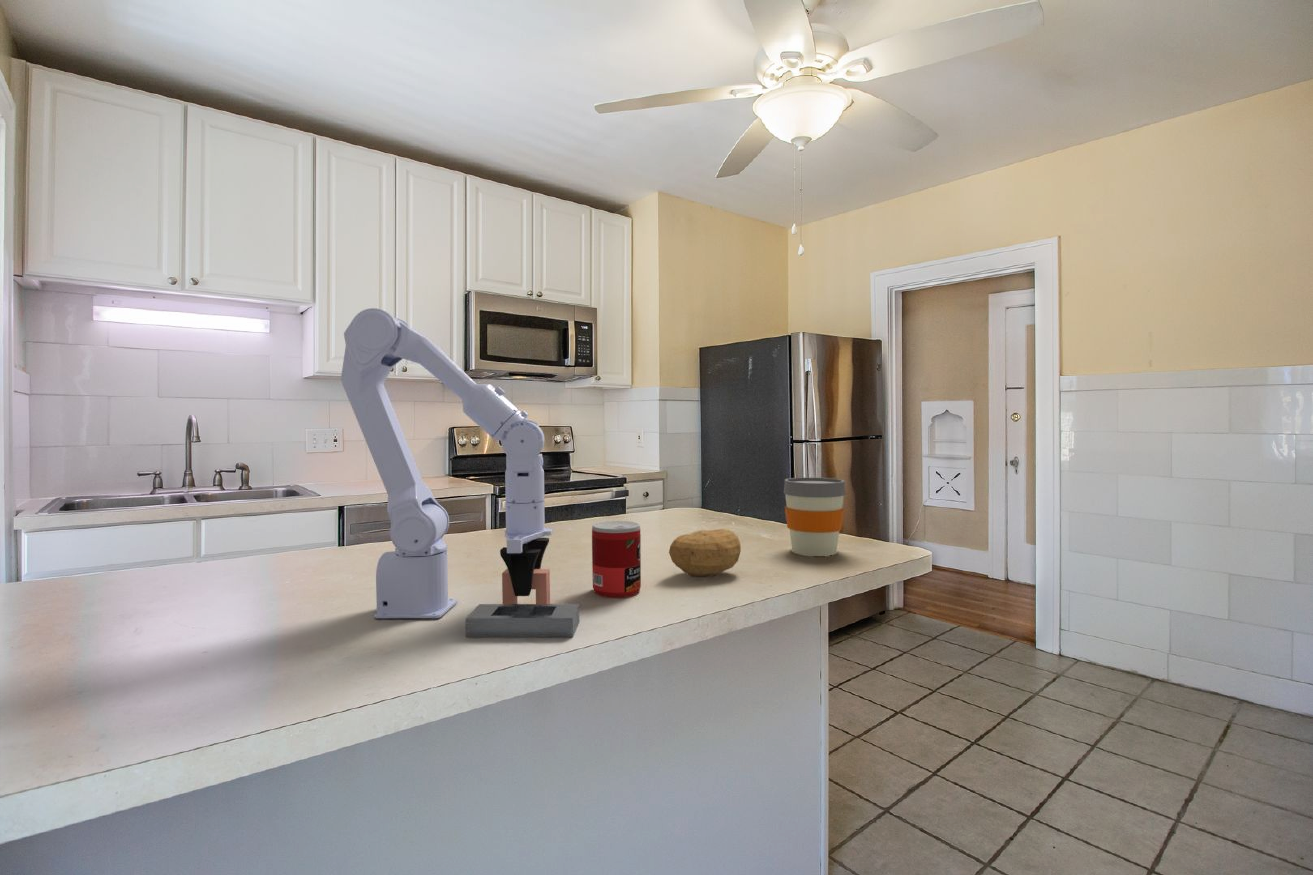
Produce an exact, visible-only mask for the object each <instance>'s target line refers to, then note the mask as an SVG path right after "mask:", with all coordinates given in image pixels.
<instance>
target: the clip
mask: <svg viewBox="0 0 1313 875" xmlns="http://www.w3.org/2000/svg"><path fill="white" fill-rule="evenodd" d="M550 571H551V570H550V568H540V569H534V572H533V581H532V588H531V590H535V604H551V579H550V577H551V574H550ZM501 584H502V585H501V589H502V591H501V592H502V593H501V596H502V601H501V602H502V603H501V604H518V596H515V594H514V590H513V587H512V582H511V578H510V574H509V571H508V569H507V568H506V569H505V570H504V571H503V572H502V573H501Z"/></svg>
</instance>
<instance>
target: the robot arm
mask: <svg viewBox="0 0 1313 875" xmlns="http://www.w3.org/2000/svg"><path fill="white" fill-rule="evenodd" d="M343 337H344V342H345V343H344V344H345V350H344V356H343V362H342V369H341V373H340V374H341V376H340V378H341V383H342V384H341V385H342V386H343V389H344V392H345V393H346V396H347V398H348V402H349V403H350V406H351V408H352V411H353V413H354V416H355V418H356V421H357V423H358V425H359V428H360V430H361V433H362V436H363V437H364V440H365V442H366V445H367V448H368V451H369V453H370V455H371V457H372V460H373V462H374V464H375V466H376V470H377V472H378V474H379V476H380V479H381V481H382V484H383V486H384V488H385V491H386V493H387V504H386V512H387V515H388V517H389V519H390V528H389V529H390V530H389V536H390V541H391V543H392V544H393V545H394V547H395V548H394V551H386V552H384V553H382V555H381V556H380V557H379V559H378V561H377V566H376V570H375V571H376V572H375V587H376V588H375V589H376V590H375V592H376V594H375V595H376V596H375V597H376V613H375V614H374V617H373V618H375V619H439V618H442V617H443V615H445V614H446V613H447V612H448V611H449V610H451V609H452V607H454V606H455V605H456V604H457V603H458V602H459V600H458V599H457V598H449V583H448V582H449V579H448V577H449V575H448V574H449V572H448V571H449V570H448V569H449V568H448V566H449V565H448V544H446V542H445V541H444V539H443V537H444V536H445V535H446V533H447V532H448V530H449V527H450V516H449V514H448V512H447V510H446V509H445V508H444V507H443V506H442V505H441V504H440V503H439V502H438V501H437V500H436V498H435V497H434V493H433V492H432V491H431V489H430V488H429V487H428V486H427V484H426V483H425V482H424V480H423V478H422V476H421V474H420V471H419V469H418V466H417V463H416V461H415V459H414V456H413V453H412V452H411V448H410V446H409V444H408V441H407V439H406V437H405V434H404V432H403V429H402V427H401V424H400V422H399V419H398V417H397V414H396V411H395V410H394V407H393V405H392V402H391V400H390V397H389V395H388V392H387V390H386V386H385V382H386V381H387V379H388V377H389V375H390V373H391V371H392V370H393V368H394V367H395V366H396V365H397V364H398V363H399V362H401V361H402V360H406V361H409V362H413V363H417V364H419V365H420V366H422V368H424V369H426V370H427V371H428V372H429V373H430V374H431V375H433V376H434V377H435V378H436V379H437V380H438V381H439V382H441V383H442V384H443V385H444V386H445V387H447V388H448V389H450V391H452V392H453V393H454V394H456V396H458V397H459V399H461V402H462V412H463V413H464V414H465V415H466V416H467V417H468V418H469V419H470V420H471V421H472V422H474V424H476V425H477V426H478V427H479V428H481V430H482V431H483V432H485V433H486V434H487V435H488V436H490V437H491V438H492V439H493V440H494V441H500V443H501V444H500V445H501V448H502V450H503V452H504V454H506V460H505V462H506V463H505V464H506V465H505V466H506V470H505V472H504V474H505V475H504V478H505V480H504V482H505V483H504V484H505V486H504V487H505V530H504V537H505V539H506V547H504V546H503V547H502V548H501V549H500V550H499V554H500V558H502V560H503V563H504V564H505V566H506V569H508V571H509V574H510V578H511V582H512V587H513V590H514V594H515V596H517V597H530V595H531V592H532V589H531V588H532V581H533V572H534V569H542V568H541V567H542V562H543V558H544V554H545V551H546V550H547V547H548V545H549V542H550V538H549V536H552V535H553V534H554V532H553V530H554V529H553V528H546V527H545V523H546V521H545V520H546V518H545V514H546V513H545V471H544V468H543V466H544V457H543V453H541V452H542V450H543V449H544V446H545V439H546V438H545V434H544V432H543V429H542V428H541V427H540V426H539V424H538V423H537V422H536V421H533V420H530V419H527V418H528V416H529V414H528V413H527V411H525V410H522V411H521V410H519V409H518V408H517V407H516V406H515V405H514V404H513V403H512V402H511V401H510V400H509V399H508V398H506V396H504V395H505V393H506V391H505V390H503V389H502V388H501V387H500V386H496V387H494V386H493V385H492V384H490V383H482V384H480V383H477V382H476V381H474V379H472V378H471V377H470V376H469V375H468V374H467V373H466V372H465V371H464V370H463V369H462V368H461V367H460V366H459V365H458V364H456V362H454V360H453V359H451V357H450V356H449V355H447V354H446V353H445V352H444V351H443V350H442V349H441V348H440V347H439V346H438V345H437V344H436V343H434V342H433V341H432V340H431V339H430V338H428V337H426V336H425V335H424V334H422V333H421V332H419V331H418V330H416V329H414V328H413V327H411V326H410V325H409V324H408V323H407V322H406V321H405V320H402V319H400V318H396V317H394V316H392V315H390V313H389V312H387V311H385V310H384V309H381V308H377V307H373V308H372V307H371V308H366V309H363V310H361V311H360V312H358V313H357V314H356V315H355V316H354V317H353V319H352V320H351V321H350V323H349V325H348V326H347V328H346V330H345V331H344V332H343ZM545 536H547V537H545Z"/></svg>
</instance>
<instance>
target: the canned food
mask: <svg viewBox="0 0 1313 875" xmlns="http://www.w3.org/2000/svg"><path fill="white" fill-rule="evenodd" d="M591 527H592V528H591V558H592V559H591V560H592V562H591V563H592V564H591V566H592V568H591V569H592V570H591V571H592V574H591V575H592V589H593V592H594V594H595V595H596V596H599V597H603V598H611V599H612V598H614V599H619V598H628V597H633V596H636V595H637V594H638V593H640V591H641V587H642V584H641V582H642V578H641V577H642V573H641V570H642V569H641V567H642V565H641V564H642V563H641V562H642V561H641V560H642V559H641V558H642V556H641V554H642V553H641V552H642V551H641V548H642V546H641V544H642V543H641V540H642V538H641V537H642V535H641V524H640V523H638V522H634V521H629V520H628V521H626V520H610V521H609V520H607V521H599V522H595V523H593V524H592V526H591Z"/></svg>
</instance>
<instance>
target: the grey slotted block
mask: <svg viewBox="0 0 1313 875" xmlns="http://www.w3.org/2000/svg"><path fill="white" fill-rule="evenodd" d="M580 615H581V614H580V603H553V604H552V603H550V604H536V603H517V604H503V603H488V604H487V603H483V604H482V603H479V604H478V605H477V606H476V607H475V608H474V609H473V610H472V611H471V612H470V613H469V614H468V615H467V616H466V617H465V638H573V637H574V636H575V633H576V631H577V629H578V627H579V624H580Z"/></svg>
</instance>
